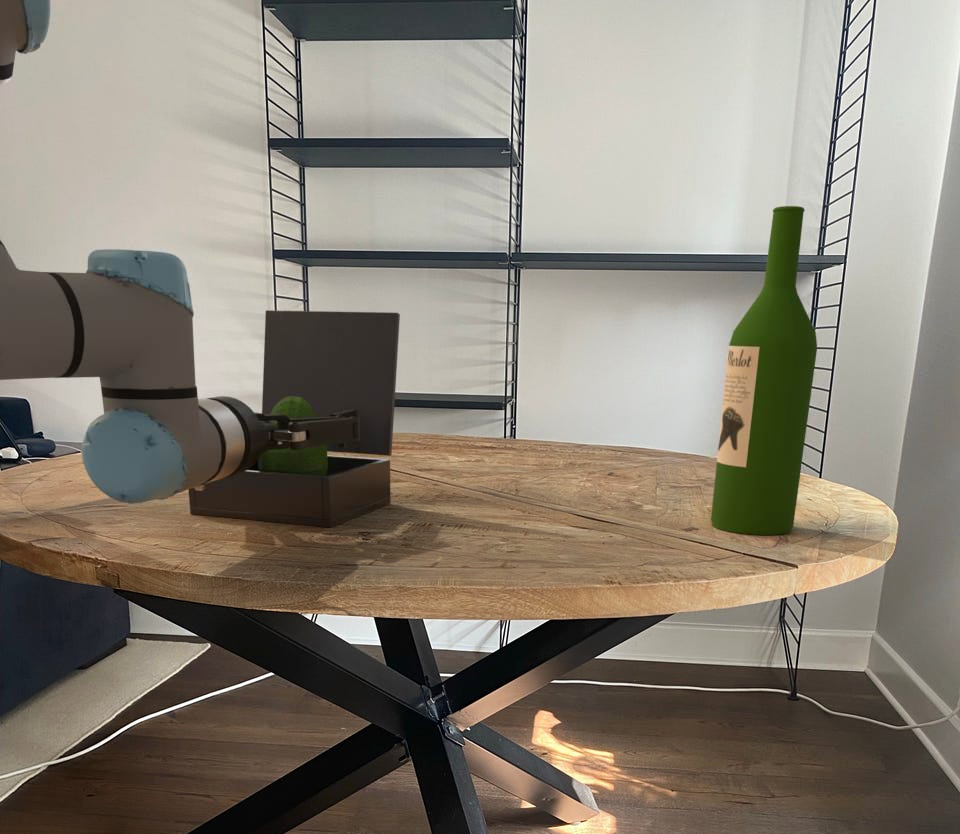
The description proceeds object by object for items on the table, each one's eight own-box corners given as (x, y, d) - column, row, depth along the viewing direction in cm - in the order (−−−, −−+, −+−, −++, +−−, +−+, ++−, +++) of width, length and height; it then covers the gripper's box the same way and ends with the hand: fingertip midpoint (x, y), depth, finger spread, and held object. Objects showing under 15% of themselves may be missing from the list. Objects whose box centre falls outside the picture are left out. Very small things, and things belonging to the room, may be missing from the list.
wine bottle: (693, 522, 104) (724, 208, 93) (752, 516, 108) (788, 215, 97) (748, 538, 96) (789, 199, 86) (810, 531, 100) (856, 206, 90)
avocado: (334, 496, 110) (331, 394, 106) (322, 508, 102) (319, 399, 99) (268, 495, 110) (262, 392, 106) (252, 507, 102) (245, 397, 99)
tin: (330, 527, 97) (328, 477, 95) (190, 514, 102) (186, 466, 100) (390, 503, 111) (390, 459, 109) (264, 492, 116) (262, 450, 114)
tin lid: (397, 312, 106) (400, 313, 107) (265, 310, 111) (268, 311, 112) (388, 455, 109) (391, 455, 109) (260, 446, 114) (263, 447, 115)
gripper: (96, 472, 89) (201, 446, 109) (337, 486, 85) (401, 457, 104) (87, 393, 87) (196, 381, 107) (335, 404, 82) (401, 389, 102)
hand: (298, 419), depth 106 cm, fingers open, 13 cm apart
